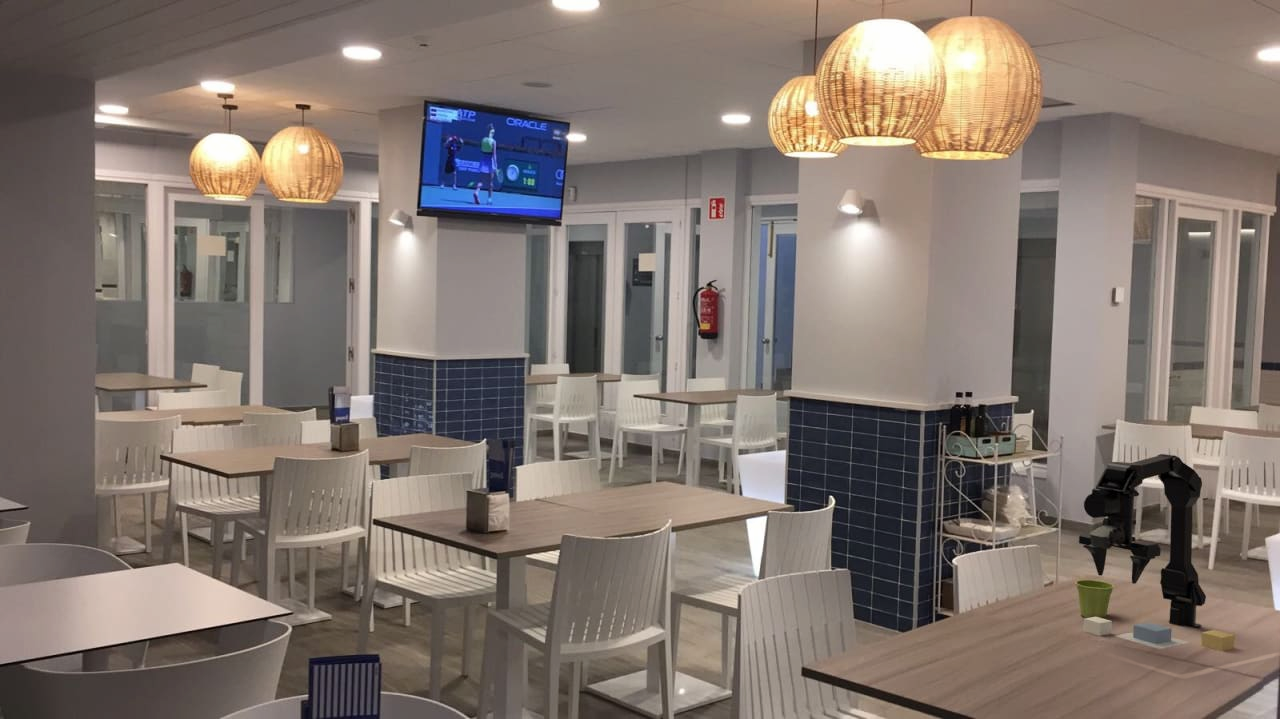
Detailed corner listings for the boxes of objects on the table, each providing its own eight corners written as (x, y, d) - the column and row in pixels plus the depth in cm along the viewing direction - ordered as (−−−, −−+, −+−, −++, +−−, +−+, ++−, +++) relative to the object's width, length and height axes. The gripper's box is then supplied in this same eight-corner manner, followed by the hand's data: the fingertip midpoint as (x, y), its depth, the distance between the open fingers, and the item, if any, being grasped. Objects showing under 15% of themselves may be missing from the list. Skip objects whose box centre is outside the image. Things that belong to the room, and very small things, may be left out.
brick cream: (1094, 632, 282) (1095, 616, 281) (1111, 637, 278) (1111, 621, 278) (1083, 634, 279) (1084, 618, 279) (1099, 639, 275) (1100, 623, 275)
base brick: (1148, 634, 278) (1148, 622, 278) (1171, 640, 273) (1171, 628, 273) (1133, 637, 275) (1133, 625, 274) (1155, 643, 270) (1156, 631, 269)
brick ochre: (1213, 646, 273) (1214, 629, 273) (1233, 651, 268) (1234, 635, 268) (1201, 649, 270) (1201, 632, 270) (1221, 654, 266) (1222, 637, 266)
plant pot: (1107, 623, 290) (1108, 590, 290) (1069, 616, 296) (1070, 583, 295) (1117, 616, 297) (1118, 583, 297) (1079, 610, 303) (1081, 578, 303)
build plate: (1144, 633, 282) (1144, 629, 282) (1189, 645, 272) (1190, 642, 272) (1114, 639, 276) (1114, 635, 276) (1159, 652, 265) (1160, 648, 265)
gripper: (1065, 510, 278) (1062, 574, 278) (1134, 524, 262) (1130, 591, 263) (1094, 508, 284) (1091, 570, 284) (1163, 520, 268) (1160, 586, 269)
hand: (1117, 579), depth 275 cm, fingers open, 9 cm apart
